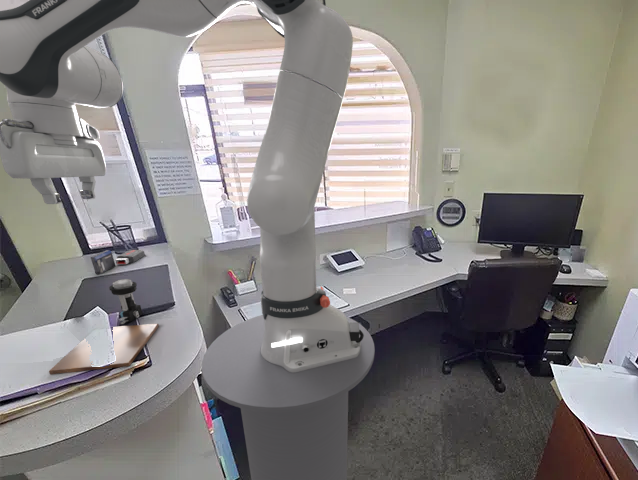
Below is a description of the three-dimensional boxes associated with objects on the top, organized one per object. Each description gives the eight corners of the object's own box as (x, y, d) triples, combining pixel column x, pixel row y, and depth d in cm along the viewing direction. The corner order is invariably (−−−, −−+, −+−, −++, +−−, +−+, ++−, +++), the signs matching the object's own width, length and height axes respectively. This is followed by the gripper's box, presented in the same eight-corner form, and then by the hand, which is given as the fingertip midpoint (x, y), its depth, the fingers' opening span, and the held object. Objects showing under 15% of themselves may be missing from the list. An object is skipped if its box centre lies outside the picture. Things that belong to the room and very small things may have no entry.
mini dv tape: (100, 273, 105) (95, 257, 103) (95, 274, 105) (90, 257, 102) (115, 265, 112) (111, 250, 110) (110, 266, 112) (106, 250, 110)
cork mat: (159, 326, 76) (158, 323, 76) (129, 366, 62) (128, 362, 62) (96, 331, 73) (95, 328, 73) (49, 374, 59) (48, 371, 58)
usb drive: (145, 255, 125) (143, 248, 124) (129, 264, 114) (127, 257, 113) (130, 255, 124) (128, 248, 123) (113, 265, 113) (111, 257, 112)
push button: (133, 325, 76) (123, 288, 72) (110, 325, 75) (98, 288, 72) (149, 312, 82) (140, 277, 78) (127, 313, 81) (117, 277, 78)
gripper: (17, 117, 48) (47, 207, 53) (103, 131, 67) (120, 197, 72) (-30, 115, 47) (4, 207, 52) (71, 130, 66) (89, 196, 71)
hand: (72, 201), depth 62 cm, fingers open, 8 cm apart
